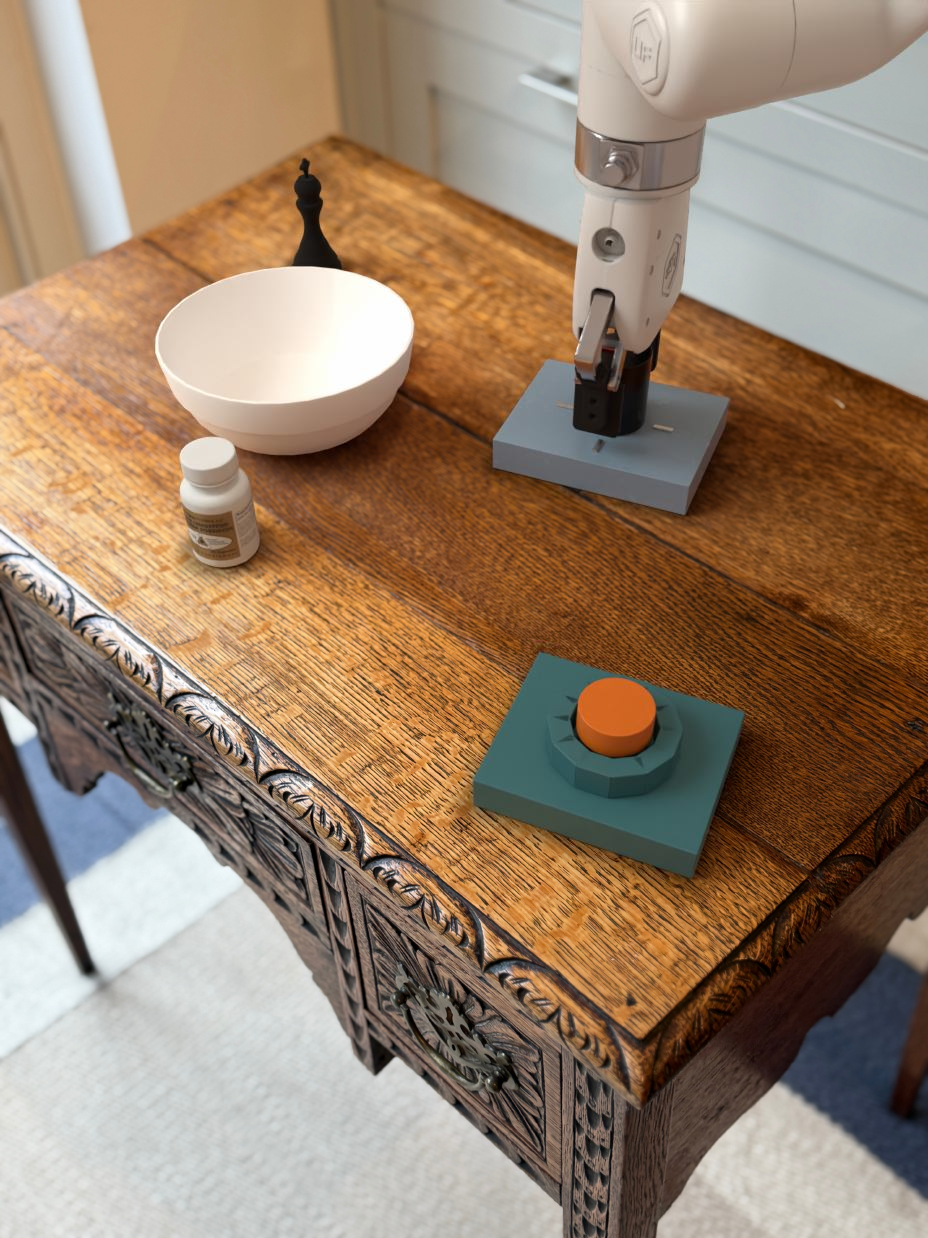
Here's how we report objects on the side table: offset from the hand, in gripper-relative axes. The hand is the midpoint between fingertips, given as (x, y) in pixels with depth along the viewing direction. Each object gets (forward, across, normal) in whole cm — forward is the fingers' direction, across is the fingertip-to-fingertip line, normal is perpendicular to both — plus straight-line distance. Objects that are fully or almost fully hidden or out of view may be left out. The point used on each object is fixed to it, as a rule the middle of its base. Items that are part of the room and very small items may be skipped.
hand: (615, 396), depth 82 cm
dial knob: (+2, 0, 0) cm, 2 cm away
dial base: (+4, 0, 0) cm, 4 cm away
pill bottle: (+4, -20, +20) cm, 29 cm away
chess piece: (+5, +15, +32) cm, 36 cm away
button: (+1, -28, -9) cm, 29 cm away
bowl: (+5, -5, +23) cm, 24 cm away
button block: (+4, -28, -9) cm, 30 cm away
